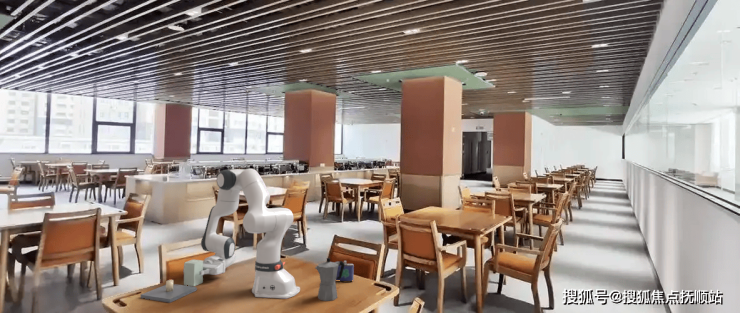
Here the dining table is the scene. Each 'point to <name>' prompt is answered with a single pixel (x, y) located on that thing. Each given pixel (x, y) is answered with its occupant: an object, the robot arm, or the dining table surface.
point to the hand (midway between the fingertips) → (192, 272)
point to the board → (168, 292)
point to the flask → (346, 272)
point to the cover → (193, 272)
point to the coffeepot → (328, 279)
